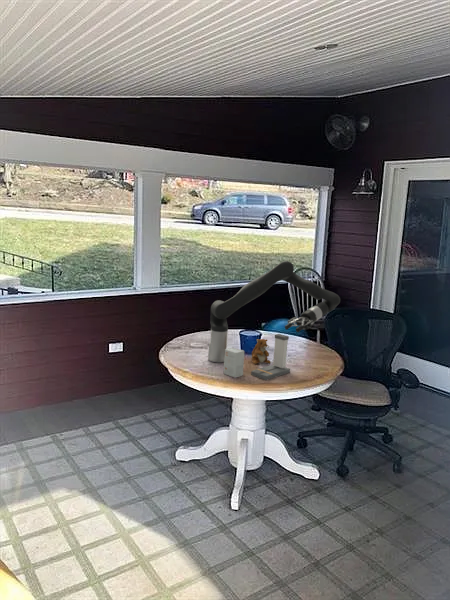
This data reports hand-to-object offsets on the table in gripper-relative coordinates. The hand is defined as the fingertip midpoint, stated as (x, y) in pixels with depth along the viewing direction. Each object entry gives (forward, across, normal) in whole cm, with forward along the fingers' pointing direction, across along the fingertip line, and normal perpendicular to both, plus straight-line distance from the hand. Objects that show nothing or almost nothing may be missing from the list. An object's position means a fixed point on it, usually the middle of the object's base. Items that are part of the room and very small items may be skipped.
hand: (291, 329), depth 258 cm
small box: (+36, -10, +10) cm, 38 cm away
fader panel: (+18, -3, +17) cm, 25 cm away
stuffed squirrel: (+10, -23, +19) cm, 32 cm away
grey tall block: (+11, -5, +17) cm, 21 cm away
